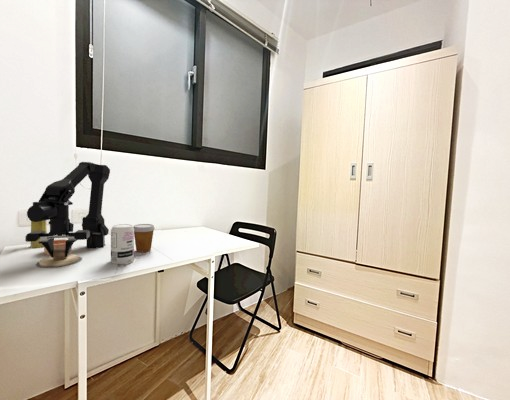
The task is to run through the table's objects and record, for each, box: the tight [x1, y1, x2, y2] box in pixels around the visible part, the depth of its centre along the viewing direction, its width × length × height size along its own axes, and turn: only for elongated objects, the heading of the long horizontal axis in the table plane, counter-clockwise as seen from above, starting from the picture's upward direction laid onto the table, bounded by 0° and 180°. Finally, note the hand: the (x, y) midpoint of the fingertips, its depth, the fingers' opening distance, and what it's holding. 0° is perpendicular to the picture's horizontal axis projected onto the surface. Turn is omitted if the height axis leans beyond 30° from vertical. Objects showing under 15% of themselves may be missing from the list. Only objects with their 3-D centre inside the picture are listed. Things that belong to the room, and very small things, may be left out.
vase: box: [29, 220, 48, 249], centre depth 112 cm, size 6×6×14 cm
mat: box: [35, 256, 83, 269], centre depth 94 cm, size 14×14×1 cm
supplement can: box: [110, 223, 135, 266], centre depth 98 cm, size 8×8×15 cm
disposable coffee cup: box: [133, 223, 156, 253], centre depth 115 cm, size 10×10×12 cm
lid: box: [38, 249, 80, 268], centre depth 94 cm, size 12×12×4 cm
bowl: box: [43, 238, 73, 256], centre depth 105 cm, size 9×9×5 cm
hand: (60, 257), depth 94 cm, fingers closed on lid, 4 cm apart
